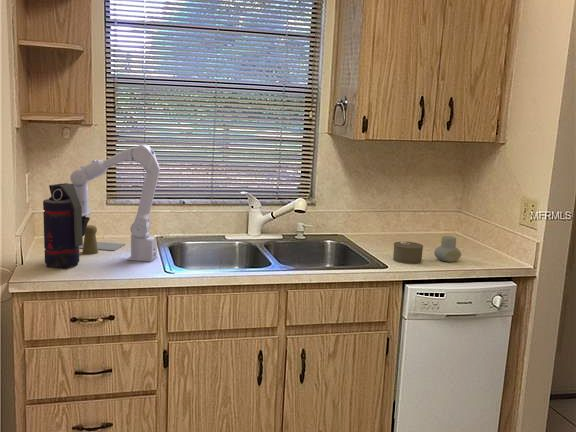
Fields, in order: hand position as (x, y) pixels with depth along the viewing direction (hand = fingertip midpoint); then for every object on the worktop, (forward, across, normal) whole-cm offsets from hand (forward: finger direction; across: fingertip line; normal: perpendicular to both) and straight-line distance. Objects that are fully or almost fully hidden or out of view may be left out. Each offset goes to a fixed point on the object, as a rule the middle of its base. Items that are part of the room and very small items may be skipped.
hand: (80, 236), depth 233 cm
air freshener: (+9, -35, +144) cm, 149 cm away
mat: (+8, -19, 0) cm, 21 cm away
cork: (+9, -8, 0) cm, 12 cm away
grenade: (+9, +13, -1) cm, 15 cm away
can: (+9, -30, +127) cm, 131 cm away
